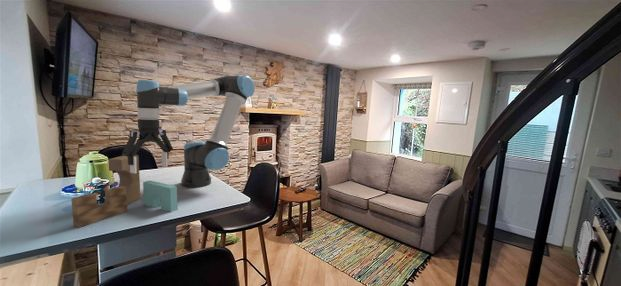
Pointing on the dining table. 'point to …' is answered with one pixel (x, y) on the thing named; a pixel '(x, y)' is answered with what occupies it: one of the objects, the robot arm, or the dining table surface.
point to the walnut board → (98, 206)
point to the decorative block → (127, 176)
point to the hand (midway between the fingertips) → (149, 169)
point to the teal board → (160, 195)
